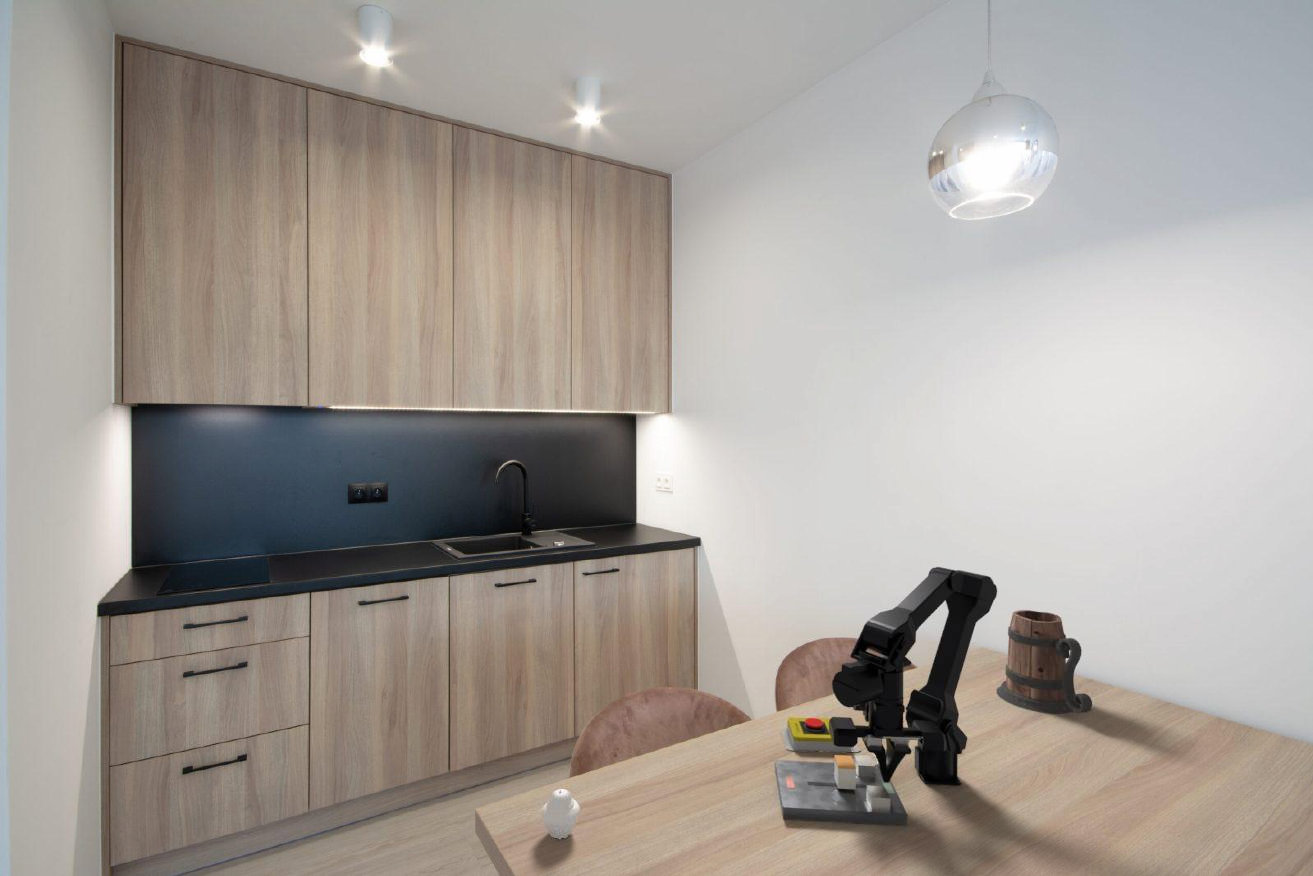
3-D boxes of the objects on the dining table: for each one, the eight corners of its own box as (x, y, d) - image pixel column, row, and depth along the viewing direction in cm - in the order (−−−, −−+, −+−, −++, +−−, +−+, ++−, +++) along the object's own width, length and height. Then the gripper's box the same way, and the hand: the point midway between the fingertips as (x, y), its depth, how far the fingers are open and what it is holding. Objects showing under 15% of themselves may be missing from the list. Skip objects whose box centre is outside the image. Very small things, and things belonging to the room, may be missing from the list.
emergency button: (779, 711, 137) (850, 713, 136) (779, 731, 137) (850, 733, 136) (786, 731, 127) (861, 733, 126) (786, 753, 127) (861, 755, 126)
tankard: (980, 686, 159) (981, 607, 158) (1040, 681, 161) (1041, 603, 161) (1053, 730, 136) (1053, 637, 135) (1122, 724, 138) (1122, 633, 138)
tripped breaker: (851, 778, 113) (851, 755, 113) (855, 789, 110) (855, 766, 109) (834, 777, 113) (834, 755, 113) (838, 788, 110) (838, 765, 110)
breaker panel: (883, 775, 118) (883, 754, 118) (907, 826, 103) (907, 802, 103) (775, 770, 120) (775, 749, 120) (783, 819, 105) (783, 795, 105)
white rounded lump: (546, 850, 98) (546, 805, 98) (537, 827, 103) (537, 784, 103) (584, 839, 100) (584, 796, 100) (574, 817, 106) (573, 776, 106)
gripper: (926, 677, 118) (925, 760, 118) (823, 673, 119) (823, 755, 120) (947, 703, 107) (947, 794, 107) (834, 698, 108) (834, 789, 109)
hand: (885, 781), depth 111 cm, fingers closed
